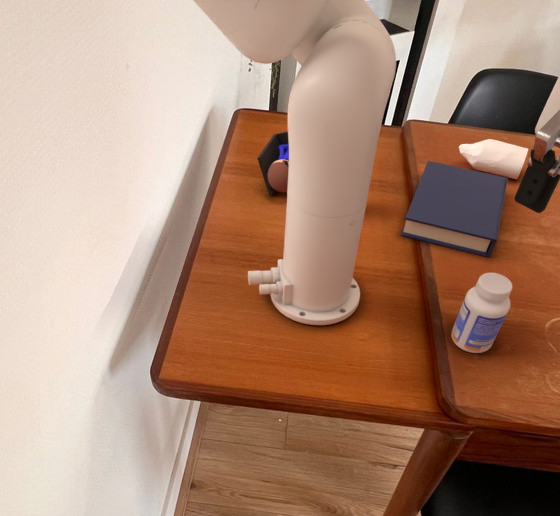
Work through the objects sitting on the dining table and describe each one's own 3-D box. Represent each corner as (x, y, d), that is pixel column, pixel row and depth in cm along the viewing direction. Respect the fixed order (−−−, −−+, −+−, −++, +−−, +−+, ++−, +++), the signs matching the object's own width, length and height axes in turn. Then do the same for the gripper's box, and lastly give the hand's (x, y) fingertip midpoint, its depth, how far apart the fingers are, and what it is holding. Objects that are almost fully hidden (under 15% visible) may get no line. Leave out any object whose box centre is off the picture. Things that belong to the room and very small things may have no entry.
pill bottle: (499, 341, 70) (528, 284, 63) (476, 361, 68) (504, 304, 60) (464, 319, 73) (489, 262, 65) (442, 338, 70) (464, 280, 63)
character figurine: (313, 167, 99) (289, 208, 90) (276, 156, 100) (249, 197, 90) (320, 126, 93) (295, 166, 83) (281, 115, 94) (252, 153, 84)
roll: (456, 156, 104) (465, 127, 100) (518, 170, 101) (530, 142, 97) (450, 169, 100) (459, 140, 96) (515, 185, 97) (527, 156, 93)
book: (489, 258, 82) (497, 239, 80) (400, 235, 85) (405, 217, 83) (501, 195, 95) (508, 177, 92) (423, 178, 98) (428, 160, 95)
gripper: (649, -26, 48) (563, 154, 61) (549, 2, 41) (475, 201, 53) (736, -4, 45) (625, 182, 58) (644, 30, 37) (540, 237, 50)
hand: (553, 191), depth 56 cm, fingers open, 9 cm apart
